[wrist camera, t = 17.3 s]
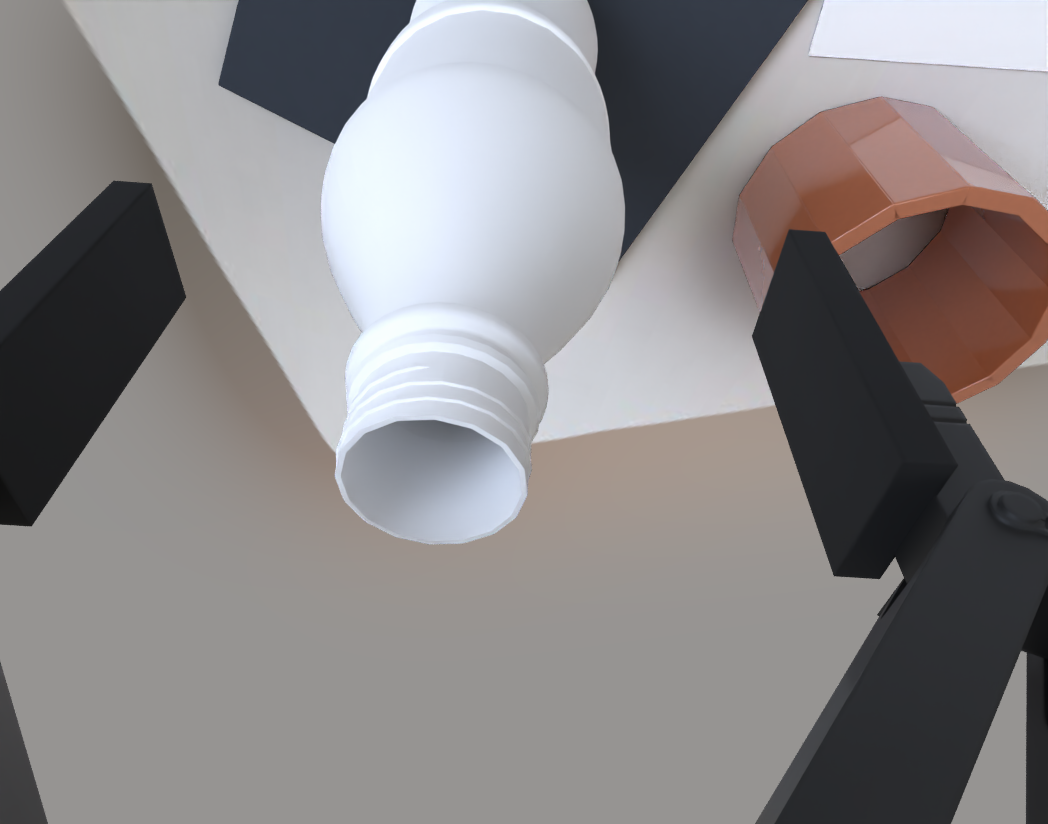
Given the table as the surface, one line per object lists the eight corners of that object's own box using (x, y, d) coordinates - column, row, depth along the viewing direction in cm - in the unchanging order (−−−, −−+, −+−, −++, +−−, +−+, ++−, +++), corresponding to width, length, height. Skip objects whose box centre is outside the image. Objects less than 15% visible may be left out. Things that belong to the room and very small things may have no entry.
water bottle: (392, 66, 30) (147, 535, 12) (466, -115, 26) (263, 176, 8) (538, 149, 33) (522, 653, 14) (628, -6, 28) (774, 425, 10)
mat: (220, 82, 31) (217, 85, 31) (338, -399, 22) (335, -401, 22) (604, 276, 38) (605, 280, 37) (828, -34, 28) (831, -31, 28)
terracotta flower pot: (690, 204, 35) (723, 309, 28) (918, 41, 30) (1025, 122, 23) (795, 341, 40) (845, 456, 33) (1004, 223, 35) (1112, 331, 28)
